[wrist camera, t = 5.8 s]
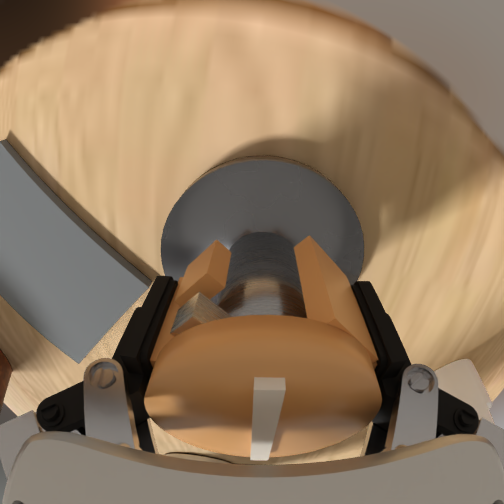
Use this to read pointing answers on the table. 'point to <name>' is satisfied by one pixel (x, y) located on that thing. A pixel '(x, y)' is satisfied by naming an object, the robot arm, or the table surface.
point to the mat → (58, 264)
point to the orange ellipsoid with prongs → (266, 367)
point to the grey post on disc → (258, 235)
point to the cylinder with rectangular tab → (465, 386)
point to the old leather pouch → (4, 376)
